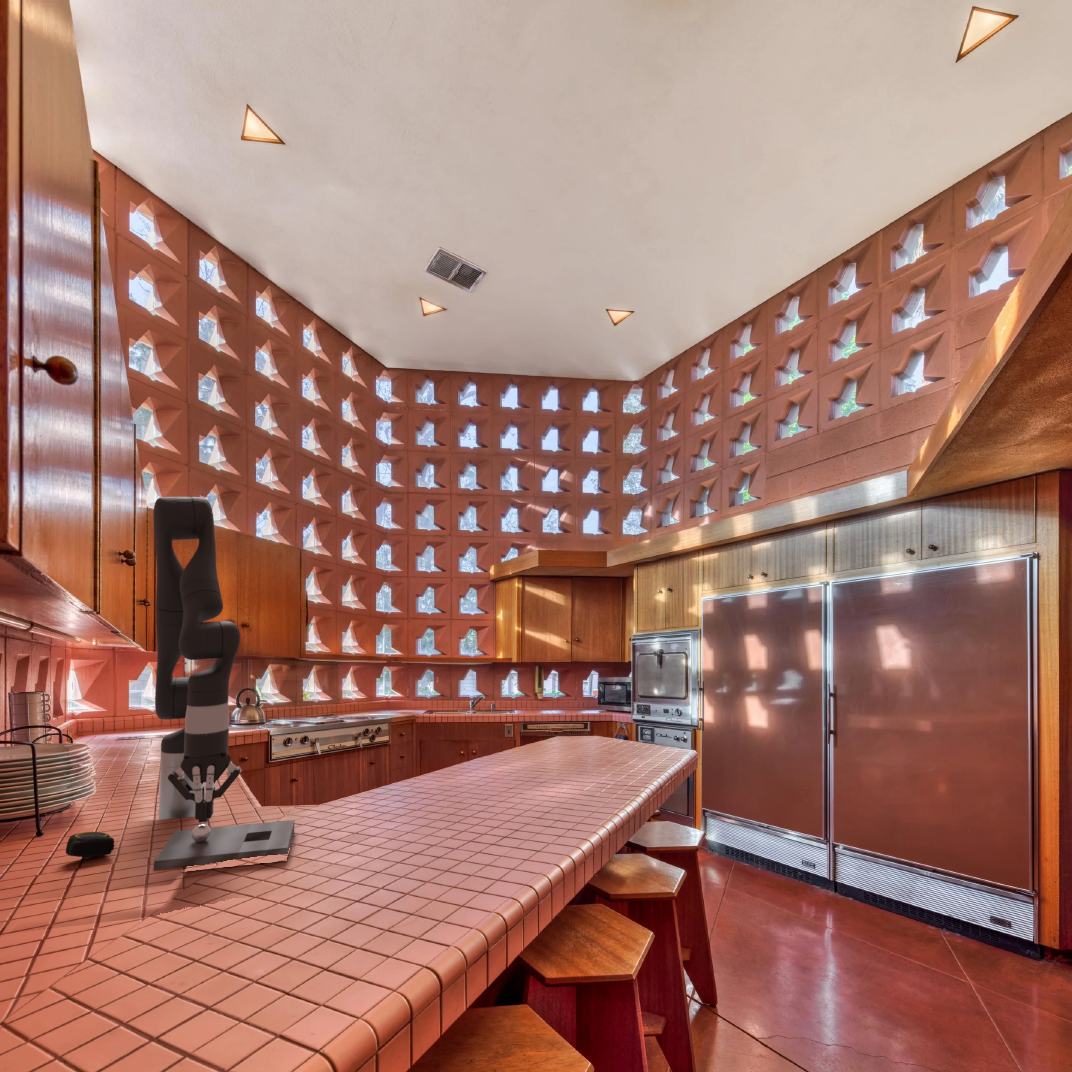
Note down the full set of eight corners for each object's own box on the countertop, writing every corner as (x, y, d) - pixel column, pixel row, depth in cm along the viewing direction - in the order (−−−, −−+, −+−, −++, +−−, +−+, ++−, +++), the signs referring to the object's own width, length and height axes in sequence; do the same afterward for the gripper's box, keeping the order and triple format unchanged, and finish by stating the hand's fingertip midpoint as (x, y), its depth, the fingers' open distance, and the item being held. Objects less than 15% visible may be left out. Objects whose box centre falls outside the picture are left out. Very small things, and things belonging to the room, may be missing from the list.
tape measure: (68, 862, 116) (73, 839, 117) (60, 854, 121) (65, 832, 122) (111, 859, 121) (116, 837, 122) (102, 851, 126) (107, 830, 127)
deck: (153, 875, 114) (154, 861, 114) (174, 843, 128) (175, 830, 128) (287, 861, 120) (287, 847, 120) (294, 832, 133) (294, 819, 134)
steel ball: (190, 840, 123) (190, 823, 123) (208, 836, 125) (209, 819, 125) (192, 846, 120) (193, 828, 120) (211, 842, 122) (212, 825, 122)
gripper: (162, 734, 118) (158, 831, 117) (241, 729, 122) (238, 824, 121) (174, 725, 126) (170, 817, 125) (248, 721, 129) (245, 810, 128)
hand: (204, 820), depth 123 cm, fingers closed
